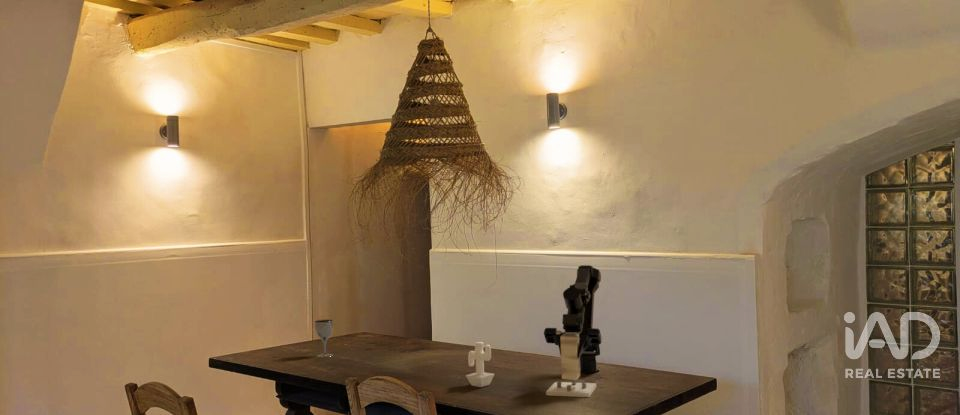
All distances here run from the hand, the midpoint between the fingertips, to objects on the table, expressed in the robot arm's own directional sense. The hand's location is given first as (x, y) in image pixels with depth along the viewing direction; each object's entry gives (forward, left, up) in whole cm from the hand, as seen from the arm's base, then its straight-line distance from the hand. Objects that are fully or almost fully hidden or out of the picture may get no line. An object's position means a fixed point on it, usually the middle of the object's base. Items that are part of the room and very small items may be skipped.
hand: (569, 357), depth 265 cm
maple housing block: (-1, +1, -7) cm, 7 cm away
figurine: (-27, -19, -12) cm, 35 cm away
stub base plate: (-1, +1, -11) cm, 12 cm away
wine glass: (-116, -44, -12) cm, 125 cm away
